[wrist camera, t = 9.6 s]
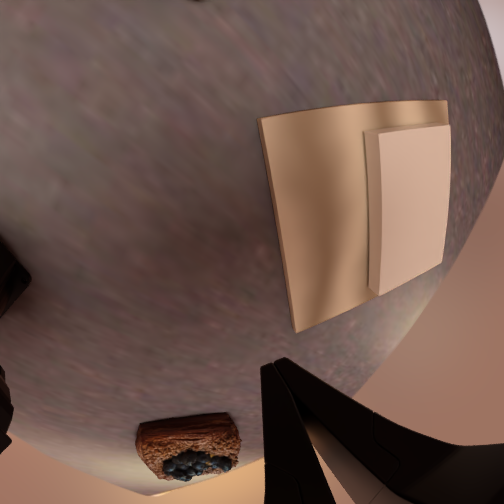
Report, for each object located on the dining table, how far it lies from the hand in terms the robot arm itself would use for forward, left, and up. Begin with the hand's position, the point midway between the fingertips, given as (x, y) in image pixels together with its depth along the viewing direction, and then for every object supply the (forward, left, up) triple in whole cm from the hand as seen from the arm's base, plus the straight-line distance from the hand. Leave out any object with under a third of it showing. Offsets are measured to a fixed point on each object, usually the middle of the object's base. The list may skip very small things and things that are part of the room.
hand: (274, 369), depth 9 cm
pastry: (-17, -20, -14) cm, 29 cm away
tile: (+11, -7, -11) cm, 17 cm away
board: (+13, -8, -13) cm, 20 cm away
